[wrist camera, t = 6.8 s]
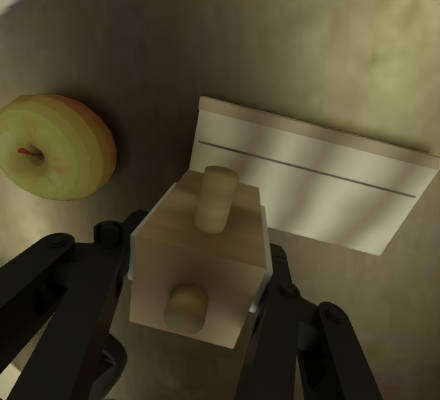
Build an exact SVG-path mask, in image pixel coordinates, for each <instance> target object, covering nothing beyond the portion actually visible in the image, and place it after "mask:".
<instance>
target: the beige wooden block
mask: <svg viewBox="0 0 440 400" xmlns="http://www.w3.org/2000/svg"><path fill="white" fill-rule="evenodd" d="M238 179H239V175H238V174H237V173H236V172H235V171H233V170H231V169H228V168H225V167H221V166H207V167H206V168H205V171H204V173H200V172H197V171H193V170H189V169H188V170H187V171H186V173H185V174H184V175H183V176H182V178H181V179H180V180H179V181H178V183H177V184H176V185H175V186H174V188H173V189H172V190H171V191H170V192H169V194H168V195H167V196H166V197H165V199H164V200H163V201H162V202H161V204H160V205H159V206H158V207H157V209H156V210H155V211H154V212H153V214H152V215H151V216H150V217H149V219H148V220H147V221H146V222H145V224H144V225H143V226H142V227H141V229H140V230H139V231H138V232H137V234H136V235H135V247H134V260H133V274H132V288H131V302H130V315H129V321H130V322H134V323H138V324H142V325H145V326H149V327H153V328H157V329H160V330H164V331H168V332H172V333H175V334H179V335H183V336H187V337H191V338H194V339H198V340H202V341H206V342H209V343H213V344H217V345H221V346H225V347H228V348H232V349H233V348H234V345H235V343H236V341H237V338H238V336H239V334H240V331H241V329H242V326H243V324H244V322H245V319H246V317H247V315H248V312H249V310H250V308H251V305H252V303H253V301H254V298H255V296H256V293H257V291H258V289H259V286H260V284H261V282H262V279H263V277H264V275H265V272H266V270H267V267H266V257H265V246H264V236H263V225H262V214H261V204H260V193H259V188H258V187H255V186H251V185H247V184H243V183H239V182H238Z"/></svg>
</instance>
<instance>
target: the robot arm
mask: <svg viewBox="0 0 440 400" xmlns="http://www.w3.org/2000/svg"><path fill="white" fill-rule="evenodd" d="M176 184H177V183H174V184H173V185H172V186H171V187H170V189H169V190H168V191H167V192H166V193H165V194H164V196H163V197H162V198H161V199H160V200H159V202H158V203H157V204H156V205H155V206H154V208H153V209H152V210H151V211H150V212H147V211H143V210H137V211H135V212H133V213H131V214H130V215H129V217H128V218H127V219H126V220H125V221H124V222H123V223H121V222H118V221H104V222H100V223H98V224H97V225H96V226H94V243H75V240H74V237H73V236H72V235H69V234H66V233H54V234H50V235H47V236H45V237H43V238H42V239H40V240H39V241H37V242H36V243H35V244H33V245H32V246H30V247H29V248H28V249H26V250H25V251H23V252H22V253H21V254H19V255H18V256H16V257H15V258H14V259H12V260H11V261H9V262H8V263H7V264H5V265H4V266H2V267H1V268H0V374H1V373H2V372H3V370H4V369H5V368H6V367H7V366H8V365H9V364H10V363H11V361H12V360H13V359H14V358H15V357H16V356H17V355H18V353H19V352H20V351H21V350H22V349H23V348H24V347H25V345H26V344H27V343H28V342H29V341H30V340H31V338H32V337H33V336H34V335H35V334H36V333H37V332H38V330H39V329H40V328H41V327H42V326H43V325H44V324H45V322H46V321H47V320H48V319H49V318H50V317H51V316H52V314H53V313H54V312H55V313H54V315H53V317H52V319H51V320H50V322H49V324H48V326H47V328H46V329H45V331H44V333H43V335H42V336H41V338H40V340H39V342H38V344H37V345H36V347H35V349H34V351H33V353H32V354H31V356H30V358H29V360H28V362H27V363H26V365H25V367H24V369H23V371H22V372H21V374H20V376H19V378H18V380H17V381H16V383H15V385H14V387H13V388H12V390H11V392H10V394H9V396H8V397H7V399H6V400H103V399H104V397H105V396H106V395H107V394H108V392H109V391H110V390H111V389H112V387H113V386H114V385H115V384H116V382H117V381H118V380H119V378H120V376H121V374H122V372H123V370H124V368H125V365H126V362H127V357H126V354H125V351H124V349H123V348H122V346H121V345H120V344H119V343H118V342H117V341H116V340H115V339H114V338H113V337H111V336H110V335H108V332H109V329H110V326H111V323H112V319H113V316H114V313H115V310H116V306H117V303H118V300H119V296H120V293H121V290H122V287H123V278H124V277H125V275H126V274H127V272H128V279H130V280H132V274H133V260H134V247H135V235H136V234H137V232H138V231H139V230H140V229H141V227H142V226H143V225H144V224H145V222H146V221H147V220H148V219H149V217H150V216H151V215H152V214H153V212H154V211H155V210H156V209H157V207H158V206H159V205H160V204H161V202H162V201H163V200H164V199H165V197H166V196H167V195H168V194H169V192H170V191H171V190H172V189H173V188H174V186H175V185H176ZM261 214H262V225H263V236H264V246H265V257H266V267H267V270H266V272H265V275H264V277H263V279H262V282H261V284H260V286H259V289H258V291H257V293H256V296H255V298H254V301H253V303H252V305H251V308H250V310H249V311H250V312H254V313H255V312H256V310H257V308H259V314H258V316H257V319H256V321H255V323H254V325H253V327H252V331H253V332H252V335H251V339H250V343H249V346H248V350H247V353H246V357H245V361H244V364H243V368H242V371H241V375H240V378H239V382H238V386H237V389H236V393H235V396H234V400H293V395H294V381H295V368H296V354H297V357H298V363H299V369H300V375H301V381H302V387H303V393H304V399H305V400H383V398H382V396H381V393H380V391H379V389H378V386H377V384H376V381H375V379H374V377H373V374H372V372H371V370H370V367H369V365H368V363H367V360H366V358H365V355H364V353H363V351H362V348H361V346H360V344H359V341H358V339H357V336H356V334H355V332H354V329H353V327H352V325H351V322H350V320H349V318H348V316H347V315H346V313H345V312H344V311H343V310H342V309H341V308H339V307H338V306H337V305H335V304H333V303H330V302H322V303H320V304H319V306H316V305H315V304H313V303H311V302H309V301H307V300H305V299H304V298H302V297H301V295H300V292H299V290H298V288H297V287H296V286H295V285H294V284H293V283H292V280H291V276H290V271H289V266H288V262H287V257H286V253H285V251H284V250H283V248H282V247H281V246H278V245H275V244H271V243H269V236H268V228H267V220H266V212H265V206H262V205H261ZM0 400H2V399H1V398H0Z"/></svg>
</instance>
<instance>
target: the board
mask: <svg viewBox="0 0 440 400" xmlns="http://www.w3.org/2000/svg"><path fill="white" fill-rule="evenodd" d="M198 109H200V110H199V116H198V122H197V127H196V133H195V139H194V144H193V150H192V156H191V161H190V167H189V170H193V171H197V172H200V173H204V171H205V168H206V167H207V166H221V167H225V168H228V169H231V170H233V171H235V172H236V173H237V174H238V175H239V179H238V182H239V183H243V184H247V185H251V186H255V187H258V188H259V193H260V204H261V205H262V206H265V212H266V220H267V227H270V228H274V229H278V230H282V231H286V232H290V233H293V234H297V235H301V236H305V237H309V238H313V239H317V240H321V241H324V242H328V243H332V244H336V245H340V246H344V247H348V248H352V249H355V250H359V251H363V252H367V253H371V254H375V255H379V256H380V255H381V253H382V252H383V250H384V249H385V247H386V246H387V244H388V243H389V241H390V240H391V239H392V237H393V236H394V234H395V233H396V231H397V230H398V228H399V227H400V225H401V224H402V222H403V221H404V220H405V218H406V217H407V215H408V214H409V212H410V211H411V209H412V208H413V206H414V205H415V203H416V202H417V201H418V199H419V198H420V196H421V195H422V193H423V192H424V190H425V189H426V187H427V186H428V185H429V183H430V182H431V180H432V179H433V177H434V176H435V174H436V173H437V171H438V170H439V171H440V157H439V156H436V155H432V154H429V153H425V152H422V151H418V150H414V149H410V148H406V147H402V146H398V145H394V144H390V143H386V142H382V141H379V140H375V139H371V138H367V137H363V136H359V135H355V134H351V133H347V132H343V131H340V130H336V129H332V128H328V127H324V126H320V125H316V124H312V123H308V122H304V121H301V120H297V119H293V118H289V117H285V116H281V115H277V114H273V113H269V112H265V111H261V110H258V109H254V108H250V107H246V106H242V105H238V104H234V103H230V102H226V101H222V100H219V99H215V98H211V97H207V96H200V101H199V107H198Z"/></svg>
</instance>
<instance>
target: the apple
mask: <svg viewBox="0 0 440 400" xmlns="http://www.w3.org/2000/svg"><path fill="white" fill-rule="evenodd" d="M116 157H117V147H116V144H115V141H114V138H113V135H112V132H111V131H110V130H109V128H108V127H107V125H106V124H105V123H104V121H103V120H102V118H101V117H99V116H98V115H97V114H96V113H94V112H93V111H92V110H90V109H89V108H88V107H86V106H85V105H84V104H83V103H81V102H79V101H76V100H74V99H71V98H68V97H65V96H62V95H56V94H41V95H25V96H20V97H19V98H17V99H15V100H14V101H12V102H11V103H9V104H8V105H6V106H5V107H4V108H2V109H1V110H0V167H1V169H2V170H3V171H4V173H5V174H6V176H7V177H8V178H10V179H11V180H12V181H13V182H14V183H15V184H17V185H18V186H19V187H20V188H22V189H24V190H26V191H28V192H30V193H32V194H34V195H36V196H39V197H41V198H46V199H52V200H58V201H70V200H75V199H81V198H85V197H87V196H89V195H91V194H93V193H94V192H95V191H97V190H98V189H99V188H101V187H102V186H103V185H105V184H106V183H107V182H108V181H109V180H110V178H111V176H112V174H113V172H114V170H115V168H116Z"/></svg>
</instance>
